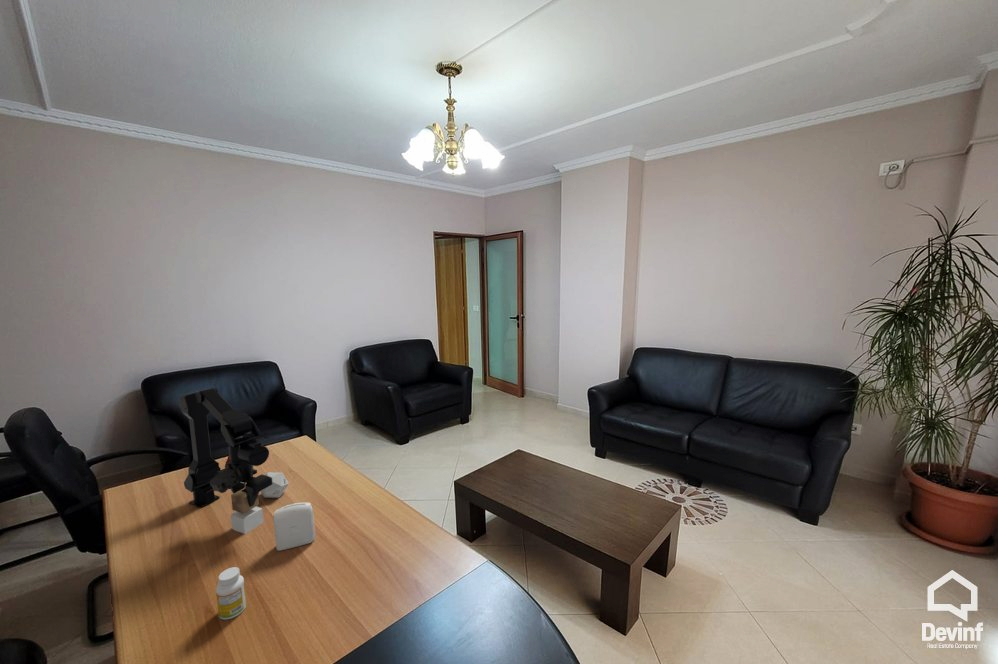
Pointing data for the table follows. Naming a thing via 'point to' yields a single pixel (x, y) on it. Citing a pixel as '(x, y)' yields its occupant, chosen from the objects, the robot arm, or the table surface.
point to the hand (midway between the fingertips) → (245, 504)
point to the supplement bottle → (230, 593)
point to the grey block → (247, 520)
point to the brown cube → (242, 502)
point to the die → (275, 485)
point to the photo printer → (294, 525)
